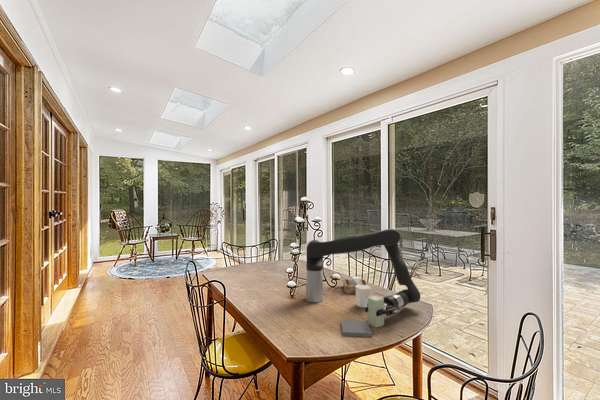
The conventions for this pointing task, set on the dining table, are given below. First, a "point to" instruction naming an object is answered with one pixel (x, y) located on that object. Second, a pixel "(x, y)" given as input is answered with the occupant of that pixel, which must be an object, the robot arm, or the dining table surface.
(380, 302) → the block
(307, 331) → the dining table surface
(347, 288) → the die frame
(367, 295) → the white cup
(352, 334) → the coaster
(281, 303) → the dining table surface
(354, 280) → the die
